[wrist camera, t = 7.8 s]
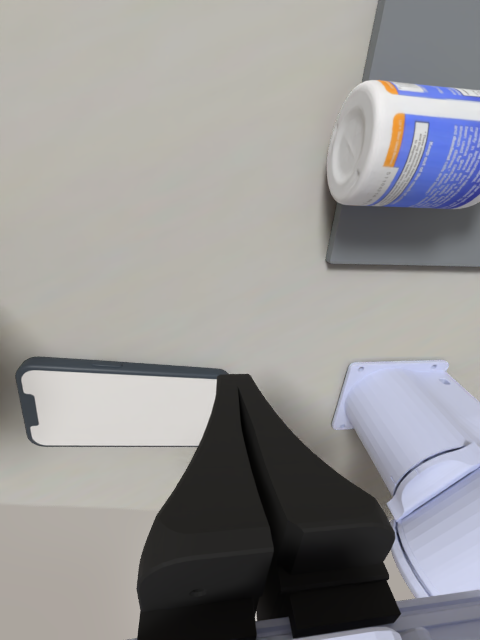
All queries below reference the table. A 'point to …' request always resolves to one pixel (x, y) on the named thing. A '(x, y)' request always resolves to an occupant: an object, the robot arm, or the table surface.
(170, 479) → the table surface
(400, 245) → the rubber mat
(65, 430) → the smartphone
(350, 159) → the pill bottle
